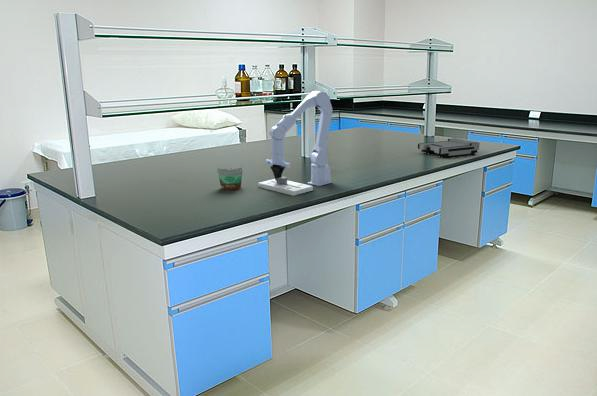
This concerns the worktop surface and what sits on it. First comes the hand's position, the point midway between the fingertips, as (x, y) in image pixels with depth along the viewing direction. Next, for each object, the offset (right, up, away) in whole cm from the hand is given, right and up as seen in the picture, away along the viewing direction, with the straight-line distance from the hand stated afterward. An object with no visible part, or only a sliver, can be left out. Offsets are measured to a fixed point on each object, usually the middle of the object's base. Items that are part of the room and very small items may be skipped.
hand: (277, 180), depth 232 cm
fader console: (+4, -4, -2) cm, 6 cm away
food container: (-21, -4, -4) cm, 22 cm away
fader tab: (+2, -1, -2) cm, 3 cm away
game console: (+105, +19, +82) cm, 135 cm away
